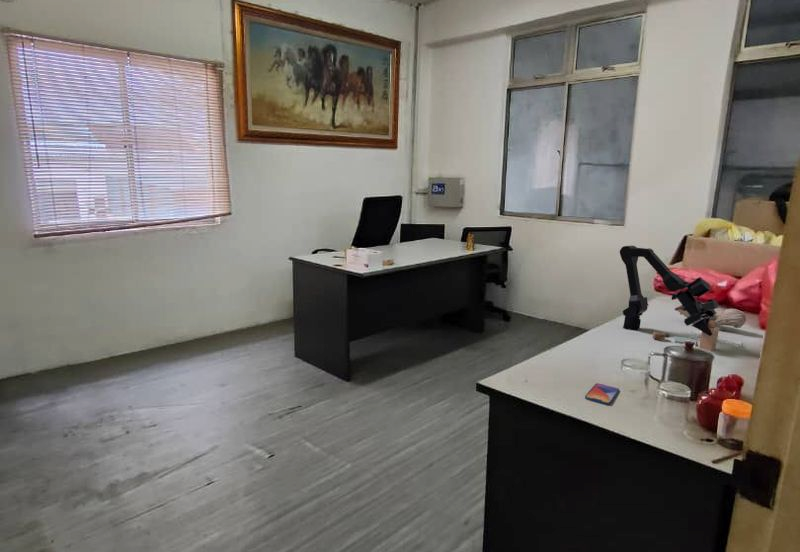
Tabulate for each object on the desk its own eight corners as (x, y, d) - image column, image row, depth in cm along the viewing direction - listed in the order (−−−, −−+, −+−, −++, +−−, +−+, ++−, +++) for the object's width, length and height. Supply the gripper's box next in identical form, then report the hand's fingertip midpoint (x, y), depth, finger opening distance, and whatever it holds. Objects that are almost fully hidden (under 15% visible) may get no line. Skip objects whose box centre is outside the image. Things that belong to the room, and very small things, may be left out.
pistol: (747, 343, 218) (740, 348, 211) (697, 332, 233) (689, 336, 225) (748, 338, 218) (741, 343, 210) (698, 327, 232) (690, 331, 225)
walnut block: (654, 340, 215) (655, 333, 214) (652, 337, 219) (653, 331, 218) (664, 341, 214) (665, 335, 213) (662, 339, 217) (663, 332, 217)
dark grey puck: (654, 335, 221) (654, 335, 221) (654, 332, 227) (654, 331, 227) (669, 338, 219) (669, 337, 219) (668, 334, 224) (668, 334, 224)
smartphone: (619, 391, 158) (620, 388, 158) (609, 406, 146) (609, 403, 146) (595, 385, 162) (596, 382, 162) (583, 399, 150) (584, 396, 150)
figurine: (672, 327, 251) (741, 339, 228) (671, 307, 247) (741, 316, 225) (681, 317, 258) (749, 327, 235) (680, 297, 254) (749, 306, 232)
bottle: (699, 347, 207) (704, 316, 204) (703, 346, 210) (708, 315, 207) (711, 351, 203) (716, 319, 201) (715, 349, 206) (721, 317, 204)
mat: (674, 342, 213) (675, 340, 212) (674, 337, 220) (674, 336, 220) (696, 346, 209) (696, 344, 209) (694, 341, 216) (694, 339, 216)
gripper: (697, 295, 199) (722, 328, 193) (715, 290, 211) (739, 321, 204) (673, 309, 207) (697, 341, 201) (692, 304, 218) (715, 334, 212)
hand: (713, 334), depth 204 cm, fingers closed on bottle, 5 cm apart
